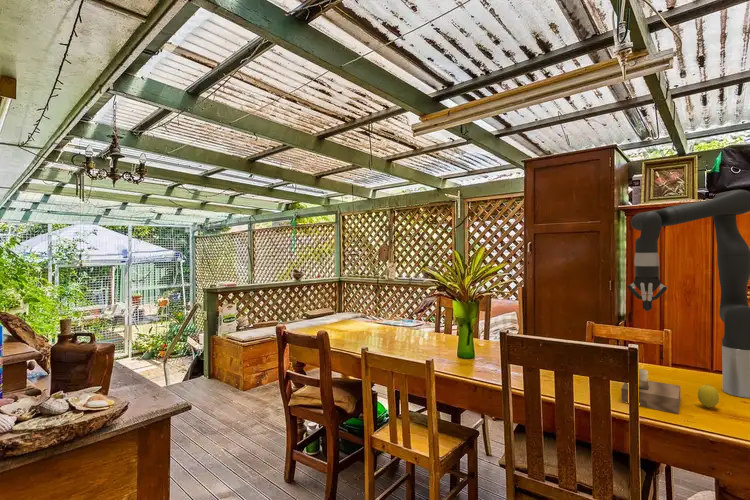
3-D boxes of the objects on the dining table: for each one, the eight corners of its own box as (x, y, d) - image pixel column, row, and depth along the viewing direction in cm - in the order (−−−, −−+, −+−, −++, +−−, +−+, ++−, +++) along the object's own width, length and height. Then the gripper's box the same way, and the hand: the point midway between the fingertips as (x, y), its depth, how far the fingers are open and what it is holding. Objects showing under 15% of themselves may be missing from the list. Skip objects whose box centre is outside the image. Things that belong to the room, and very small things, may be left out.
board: (680, 399, 138) (680, 385, 138) (678, 414, 127) (678, 398, 127) (627, 389, 149) (627, 376, 149) (621, 402, 137) (621, 388, 137)
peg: (648, 400, 138) (648, 369, 138) (647, 404, 135) (647, 373, 135) (634, 397, 141) (634, 367, 141) (633, 401, 138) (633, 370, 138)
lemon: (697, 403, 135) (697, 380, 135) (718, 407, 132) (718, 383, 132) (697, 408, 131) (697, 385, 131) (719, 412, 127) (719, 388, 127)
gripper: (669, 264, 144) (670, 310, 144) (627, 264, 153) (628, 307, 153) (667, 265, 139) (668, 313, 139) (624, 265, 147) (625, 310, 147)
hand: (647, 310), depth 146 cm, fingers closed
